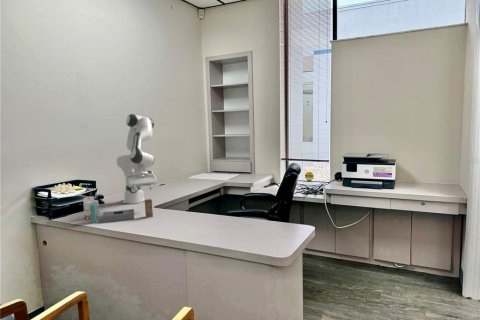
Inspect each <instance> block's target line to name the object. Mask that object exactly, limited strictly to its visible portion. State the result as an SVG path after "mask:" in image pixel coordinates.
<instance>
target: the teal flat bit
mask: <svg viewBox="0 0 480 320" xmlns="http://www.w3.org/2000/svg"><path fill="white" fill-rule="evenodd" d="M90 212H91V219H90V222H91V224H94V223H93V222H96V223H97V221H98V217H97V216H96V204H95V203H91V205H90ZM96 220H97V221H96Z"/></svg>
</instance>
